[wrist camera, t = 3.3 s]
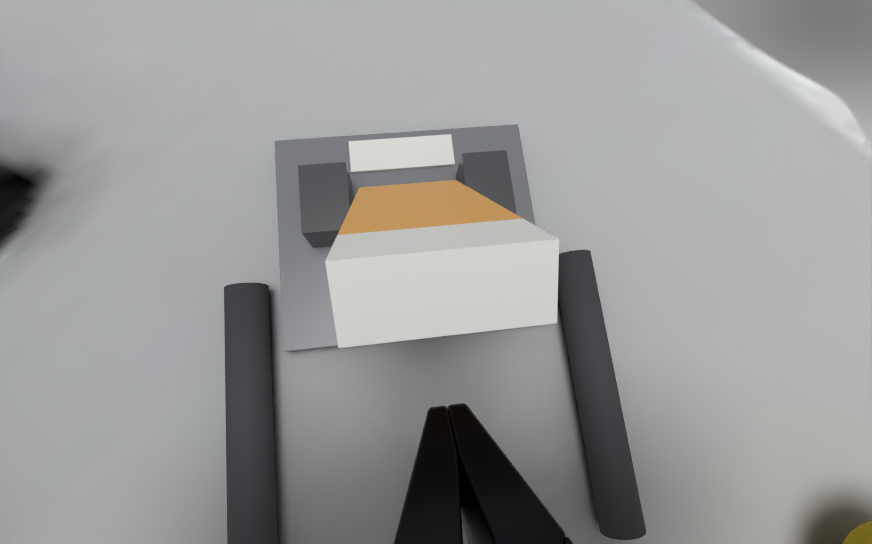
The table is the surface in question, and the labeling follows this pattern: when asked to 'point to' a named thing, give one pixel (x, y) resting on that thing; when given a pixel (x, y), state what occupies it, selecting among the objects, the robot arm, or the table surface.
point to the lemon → (860, 534)
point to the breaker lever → (437, 266)
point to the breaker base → (365, 167)
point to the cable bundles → (254, 408)
